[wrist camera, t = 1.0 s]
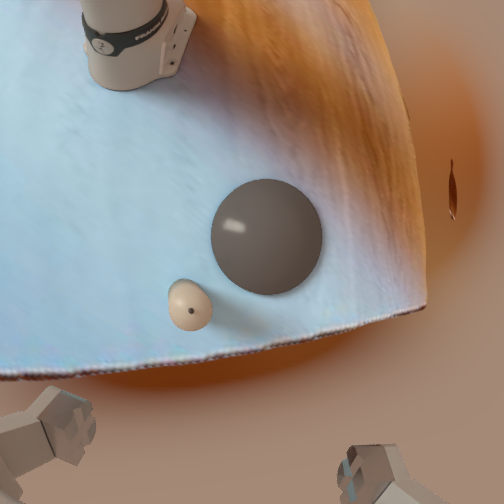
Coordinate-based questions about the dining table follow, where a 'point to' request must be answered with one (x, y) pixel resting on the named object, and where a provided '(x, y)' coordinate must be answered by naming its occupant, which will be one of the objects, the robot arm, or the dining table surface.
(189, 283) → the candle
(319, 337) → the dining table surface
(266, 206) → the plate
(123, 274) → the dining table surface
